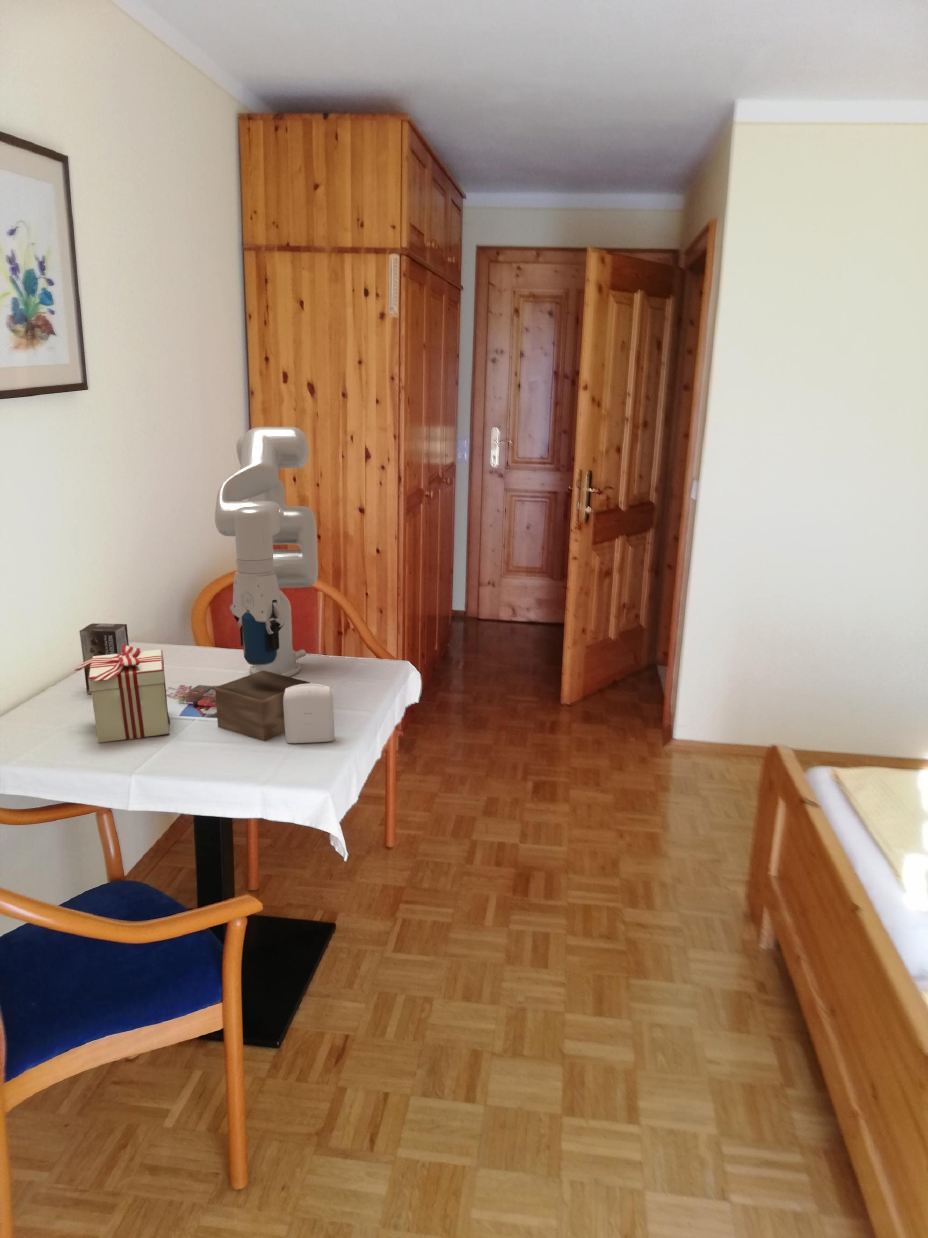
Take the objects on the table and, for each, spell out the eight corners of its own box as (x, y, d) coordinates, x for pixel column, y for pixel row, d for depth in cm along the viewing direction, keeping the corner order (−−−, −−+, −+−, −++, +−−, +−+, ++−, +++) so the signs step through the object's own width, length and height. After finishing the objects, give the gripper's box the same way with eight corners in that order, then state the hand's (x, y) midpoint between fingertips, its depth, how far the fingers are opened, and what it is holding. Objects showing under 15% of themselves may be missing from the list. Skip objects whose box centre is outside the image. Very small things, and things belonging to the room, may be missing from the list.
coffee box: (134, 687, 226) (128, 623, 222) (122, 696, 220) (115, 630, 216) (98, 686, 227) (91, 622, 223) (85, 695, 221) (78, 629, 217)
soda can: (283, 661, 200) (281, 607, 197) (256, 668, 195) (253, 613, 192) (265, 654, 205) (262, 601, 201) (237, 661, 200) (234, 607, 197)
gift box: (80, 722, 204) (71, 647, 200) (167, 710, 212) (161, 637, 207) (82, 750, 189) (73, 670, 185) (176, 737, 196) (169, 659, 192)
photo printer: (284, 745, 192) (281, 688, 189) (286, 737, 196) (283, 681, 193) (334, 743, 193) (332, 687, 190) (335, 735, 197) (333, 680, 194)
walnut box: (265, 707, 213) (263, 670, 211) (311, 720, 206) (309, 682, 203) (216, 726, 202) (213, 687, 199) (263, 741, 194) (261, 700, 192)
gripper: (213, 564, 196) (218, 645, 201) (272, 574, 187) (276, 658, 191) (240, 558, 202) (244, 637, 207) (298, 567, 193) (302, 650, 197)
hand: (260, 646), depth 199 cm, fingers closed on soda can, 7 cm apart
